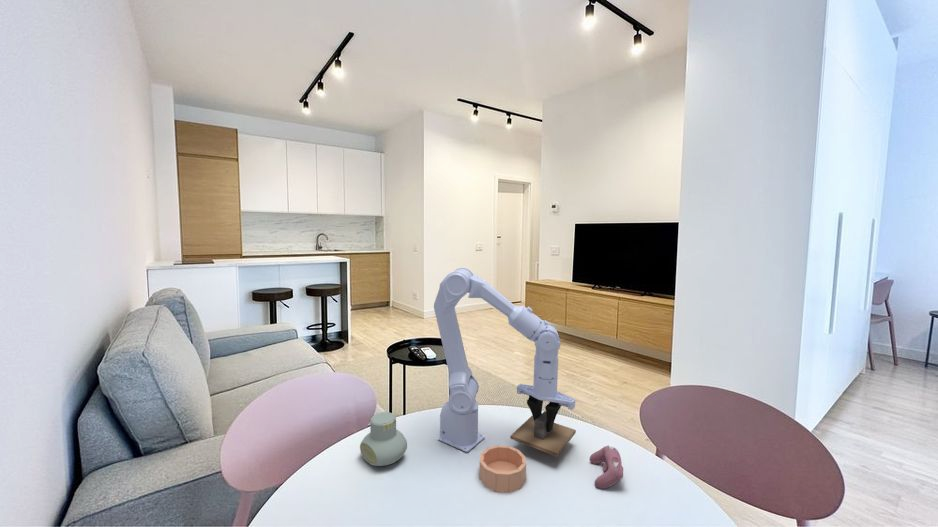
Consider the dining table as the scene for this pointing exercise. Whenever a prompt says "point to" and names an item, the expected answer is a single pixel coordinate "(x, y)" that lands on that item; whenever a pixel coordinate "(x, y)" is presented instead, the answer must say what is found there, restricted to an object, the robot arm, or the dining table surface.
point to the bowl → (502, 468)
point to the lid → (543, 435)
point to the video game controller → (608, 466)
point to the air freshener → (383, 441)
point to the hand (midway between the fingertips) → (543, 428)
